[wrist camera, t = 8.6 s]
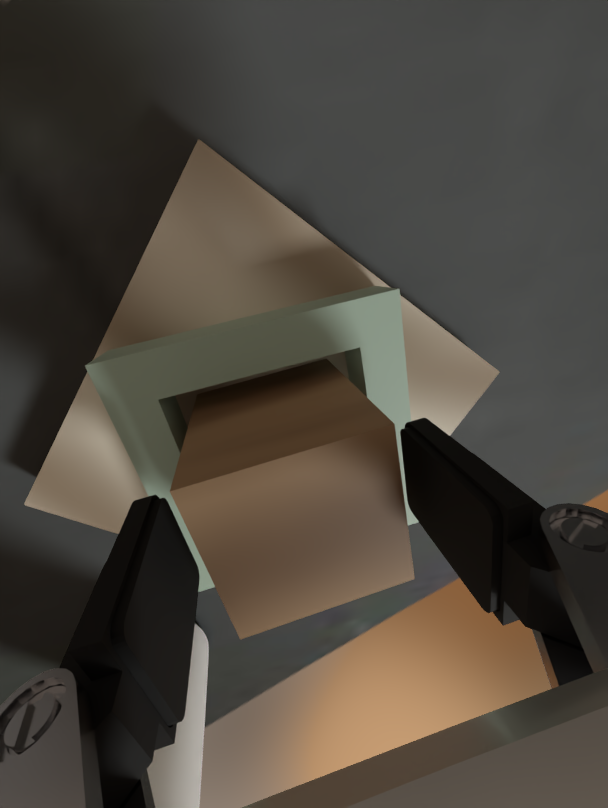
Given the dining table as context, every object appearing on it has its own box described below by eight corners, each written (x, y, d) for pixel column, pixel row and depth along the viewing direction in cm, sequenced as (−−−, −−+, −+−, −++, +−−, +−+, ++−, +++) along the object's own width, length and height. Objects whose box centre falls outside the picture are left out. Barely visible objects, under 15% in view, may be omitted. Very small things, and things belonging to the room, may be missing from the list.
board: (202, 154, 11) (198, 138, 10) (477, 363, 16) (499, 372, 15) (43, 481, 14) (23, 504, 13) (316, 573, 19) (322, 597, 18)
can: (187, 588, 18) (113, 1105, 7) (224, 662, 20) (214, 1122, 9) (59, 629, 17) (-251, 1271, 6) (114, 699, 20) (-35, 1240, 9)
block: (197, 394, 13) (169, 491, 7) (326, 358, 13) (394, 423, 8) (237, 499, 15) (240, 639, 9) (348, 465, 15) (414, 578, 10)
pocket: (108, 350, 11) (84, 365, 10) (374, 285, 12) (399, 288, 10) (200, 554, 15) (195, 593, 13) (398, 493, 16) (420, 521, 14)
